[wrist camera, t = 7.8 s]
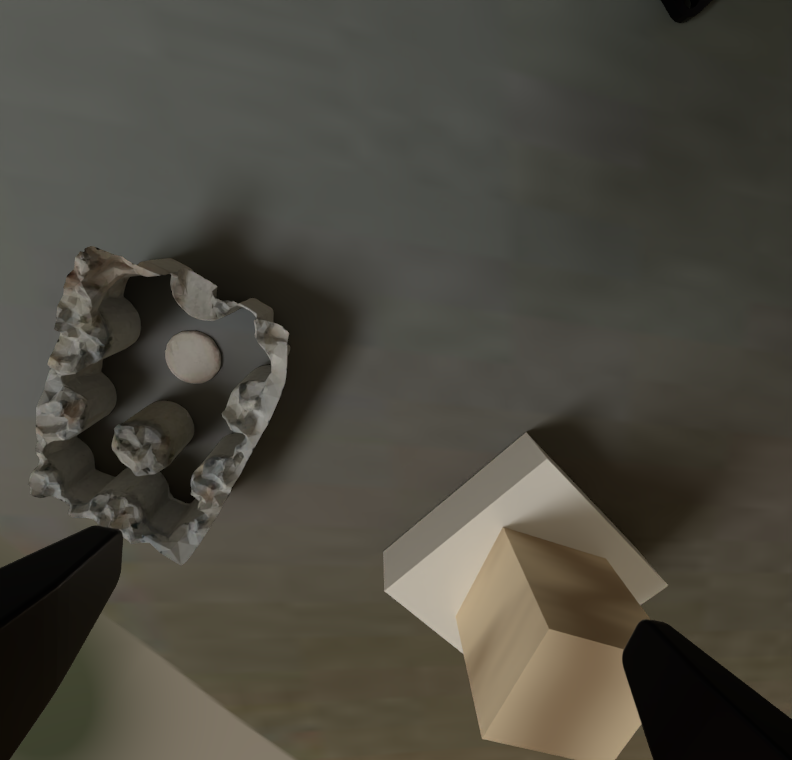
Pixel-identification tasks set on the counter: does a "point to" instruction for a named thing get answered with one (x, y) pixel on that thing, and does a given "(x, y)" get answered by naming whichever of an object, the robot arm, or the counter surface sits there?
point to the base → (480, 526)
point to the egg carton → (157, 423)
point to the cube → (550, 649)
